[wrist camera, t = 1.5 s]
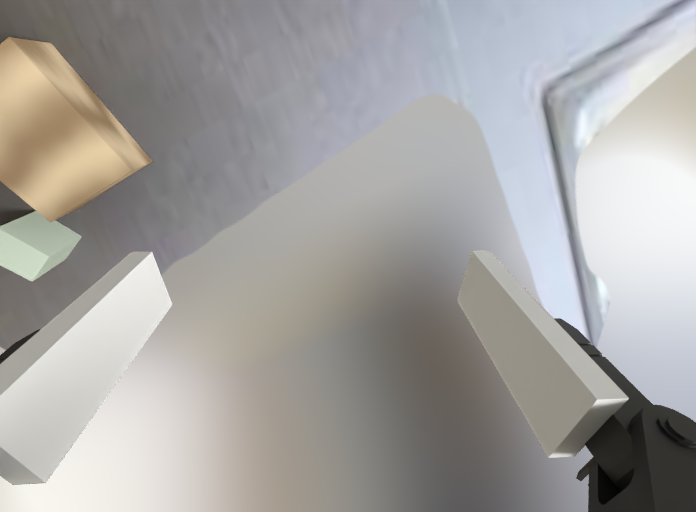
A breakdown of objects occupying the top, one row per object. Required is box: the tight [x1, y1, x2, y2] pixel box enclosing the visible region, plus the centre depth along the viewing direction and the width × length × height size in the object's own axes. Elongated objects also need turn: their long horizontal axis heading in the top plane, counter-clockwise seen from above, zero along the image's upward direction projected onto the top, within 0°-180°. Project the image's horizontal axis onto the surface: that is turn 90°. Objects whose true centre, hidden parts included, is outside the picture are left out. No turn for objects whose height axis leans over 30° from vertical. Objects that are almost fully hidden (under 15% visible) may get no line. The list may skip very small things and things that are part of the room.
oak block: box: [0, 37, 153, 222], centre depth 28 cm, size 12×12×4 cm
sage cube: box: [0, 211, 82, 281], centre depth 34 cm, size 5×5×5 cm
